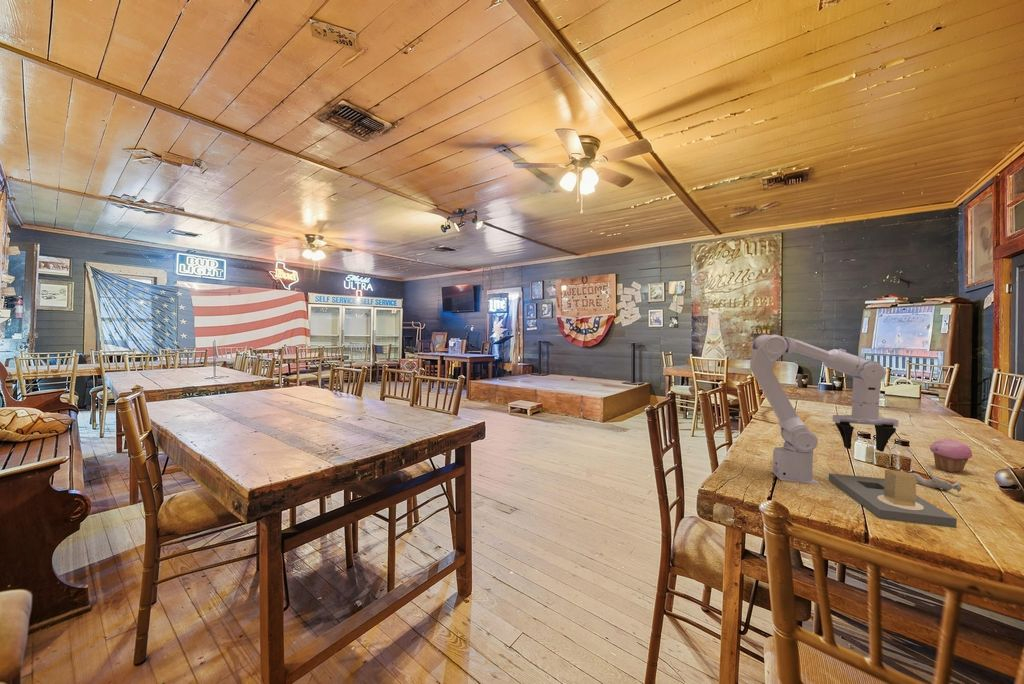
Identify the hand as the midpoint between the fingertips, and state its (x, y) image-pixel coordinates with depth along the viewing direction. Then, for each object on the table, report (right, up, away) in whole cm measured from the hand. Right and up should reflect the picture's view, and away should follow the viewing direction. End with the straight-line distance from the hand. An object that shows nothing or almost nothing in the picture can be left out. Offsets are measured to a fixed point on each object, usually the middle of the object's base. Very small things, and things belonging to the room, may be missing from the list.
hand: (863, 449), depth 111 cm
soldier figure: (+18, -11, -1) cm, 21 cm away
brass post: (-6, -8, -16) cm, 19 cm away
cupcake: (+39, -11, +13) cm, 42 cm away
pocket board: (-4, -11, -11) cm, 16 cm away
